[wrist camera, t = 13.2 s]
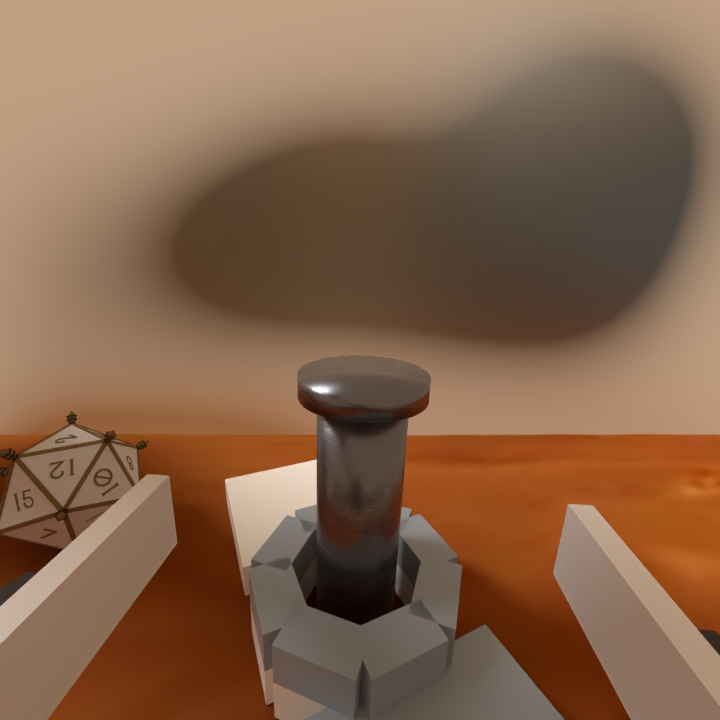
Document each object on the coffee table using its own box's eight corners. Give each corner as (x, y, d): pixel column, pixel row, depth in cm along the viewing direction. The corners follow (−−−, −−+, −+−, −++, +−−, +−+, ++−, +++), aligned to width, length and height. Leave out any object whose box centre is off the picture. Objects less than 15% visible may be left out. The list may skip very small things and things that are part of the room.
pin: (288, 600, 20) (282, 361, 17) (376, 567, 23) (388, 352, 19) (322, 708, 16) (325, 406, 12) (429, 652, 18) (459, 386, 14)
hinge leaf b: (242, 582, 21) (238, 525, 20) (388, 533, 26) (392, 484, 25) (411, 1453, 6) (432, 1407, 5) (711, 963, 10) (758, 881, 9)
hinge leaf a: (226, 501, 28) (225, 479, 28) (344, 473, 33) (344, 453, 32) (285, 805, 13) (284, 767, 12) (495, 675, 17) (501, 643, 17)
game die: (83, 565, 27) (75, 433, 30) (189, 533, 26) (170, 400, 29) (-76, 618, 18) (-66, 424, 21) (75, 572, 17) (65, 378, 20)
